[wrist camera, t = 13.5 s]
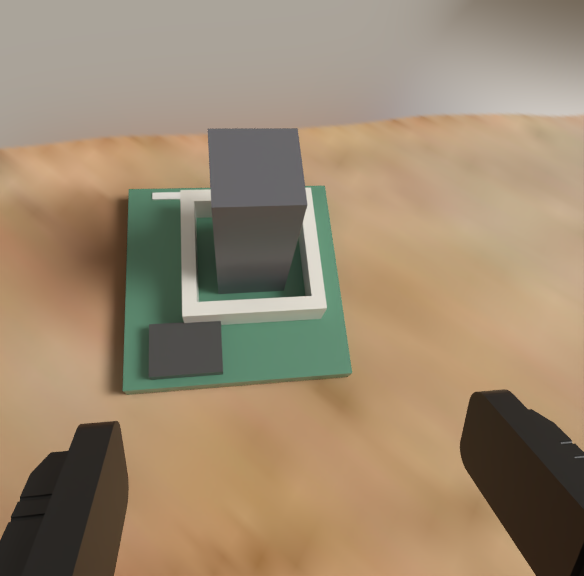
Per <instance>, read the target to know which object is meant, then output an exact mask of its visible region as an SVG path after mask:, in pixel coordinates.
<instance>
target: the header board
mask: <svg viewBox="0 0 584 576" xmlns="http://www.w3.org/2000/svg"><path fill="white" fill-rule="evenodd" d="M305 190H306V197H307V209H306V212H305V216H304V220H303V223H302V227H301V230H300V234H299V238H298V241H297V245H296V248H295V252H294V256H293V259H292V263H291V266H290V270H289V274H288V277H287V281H286V284H285V288H284V291H270V292H251V293H233V294H218V282H217V269H216V257H215V245H214V233H213V221H212V209H211V188H174V189H129V201H128V233H127V266H126V299H125V332H124V365H123V392H124V393H126V394H127V395H129V394H142V393H154V392H167V391H179V390H192V389H204V388H216V387H229V386H241V385H254V384H266V383H279V382H291V381H304V380H316V379H329V378H341V377H348V376H349V375H351V374H352V369H351V362H350V355H349V348H348V341H347V335H346V328H345V321H344V314H343V307H342V300H341V294H340V287H339V280H338V273H337V266H336V259H335V253H334V246H333V239H332V232H331V225H330V218H329V212H328V205H327V198H326V191H325V186H305Z"/></svg>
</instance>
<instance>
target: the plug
mask: <svg viewBox="0 0 584 576" xmlns="http://www.w3.org/2000/svg"><path fill="white" fill-rule="evenodd" d="M208 145H209V166H210V188H211V209H212V221H213V233H214V245H215V257H216V269H217V282H218V294H233V293H251V292H270V291H284V288H285V284H286V281H287V277H288V274H289V270H290V266H291V263H292V259H293V256H294V252H295V248H296V245H297V241H298V238H299V234H300V230H301V227H302V223H303V220H304V216H305V212H306V209H307V197H306V190H305V182H304V174H303V167H302V159H301V152H300V144H299V136H298V129H297V128H295V129H208Z"/></svg>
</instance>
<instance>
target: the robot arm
mask: <svg viewBox="0 0 584 576" xmlns="http://www.w3.org/2000/svg"><path fill="white" fill-rule="evenodd" d="M460 453H461V458H462V461H463V464H464V466H465V469H466V470H467V472H468V473H469V475H470V476H471V478H472V479H473V481H474V483H475V484H476V486H477V487H478V489H479V490H480V492H481V493H482V495H483V496H484V498H485V499H486V501H487V502H488V504H489V505H490V507H491V508H492V510H493V511H494V513H495V514H496V516H497V517H498V519H499V520H500V522H501V523H502V525H503V526H504V528H505V529H506V531H507V532H508V534H509V535H510V537H511V538H512V540H513V541H514V543H515V545H516V546H517V548H518V549H519V551H520V552H521V554H522V555H523V557H524V558H525V560H526V561H527V563H528V564H529V566H530V567H531V569H532V570H533V572H534V573H535V575H536V576H584V452H583V451H582V450H581V449H580V448H579V447H578V446H577V445H576V444H572V440H571V439H570V438H569V437H568V436H567V435H566V434H565V433H564V432H563V431H562V430H561V429H560V428H559V427H558V426H557V425H556V424H555V423H553V422H552V421H550V420H548V419H547V418H545V417H543V416H542V415H540V414H539V413H537V412H535V411H534V410H532V409H531V410H528V409H527V408H526V407H525V406H524V405H523V404H522V403H521V402H520V401H519V400H518V399H517V398H516V397H515V396H514V395H513V394H512V393H511V392H510V391H508V390H493V391H481V392H474V393H473V394H472V395H471V397H470V400H469V405H468V409H467V414H466V418H465V423H464V427H463V432H462V437H461V441H460ZM127 503H128V473H127V467H126V460H125V454H124V447H123V441H122V435H121V428H120V424H119V422H118V421H112V422H100V423H88V424H80V425H79V426H78V428H77V430H76V432H75V435H74V438H73V440H72V443H71V446H70V448H69V451H63V452H52V453H50V454H49V455H48V456H47V457H46V458H45V459H44V460H43V461H42V462H41V463H40V464H39V465H38V466H37V467H36V469H35V470H34V471H33V472H32V473H31V474H30V476H29V478H28V481H27V483H26V485H25V487H24V489H23V492H22V494H21V496H20V502H18V503H17V505H16V507H15V509H14V512H13V514H12V516H11V522H9V523H8V525H7V527H6V529H5V531H4V534H3V536H2V538H1V540H0V576H114V572H115V567H116V562H117V556H118V551H119V546H120V541H121V535H122V530H123V525H124V520H125V515H126V509H127Z"/></svg>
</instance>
